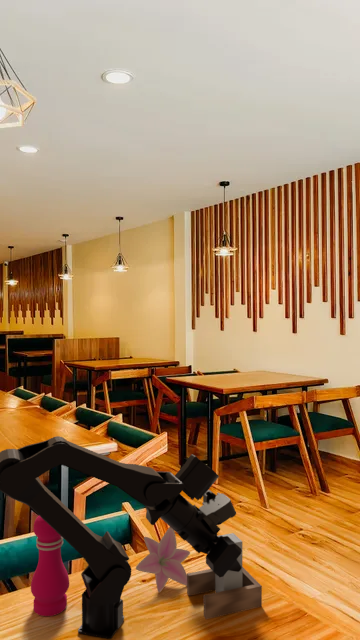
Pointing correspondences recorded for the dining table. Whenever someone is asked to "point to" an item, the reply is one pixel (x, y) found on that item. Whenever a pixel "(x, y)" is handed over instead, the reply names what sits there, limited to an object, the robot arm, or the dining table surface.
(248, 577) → the bay
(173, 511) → the robot arm
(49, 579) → the pepper mill
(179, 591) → the dining table surface
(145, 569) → the lily
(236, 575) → the tall grey pillar block
